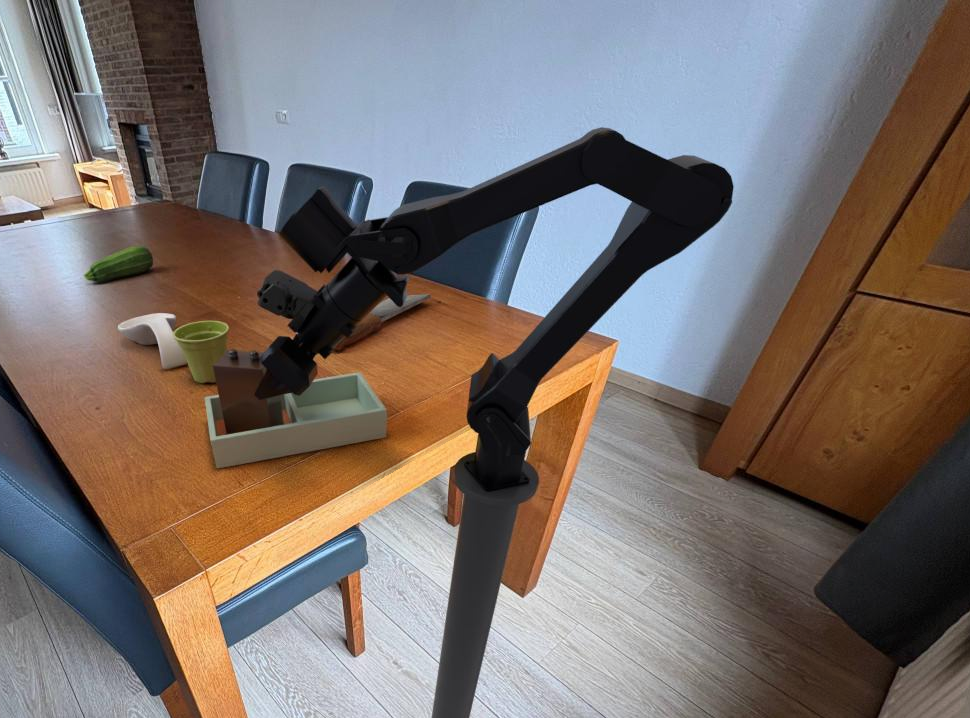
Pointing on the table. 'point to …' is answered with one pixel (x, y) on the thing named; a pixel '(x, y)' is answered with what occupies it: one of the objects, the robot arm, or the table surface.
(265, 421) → the knife block
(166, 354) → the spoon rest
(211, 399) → the divided tray
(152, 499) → the table surface
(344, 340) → the meat cleaver
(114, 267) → the vegetable
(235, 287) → the table surface
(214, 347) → the plant pot
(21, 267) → the table surface
